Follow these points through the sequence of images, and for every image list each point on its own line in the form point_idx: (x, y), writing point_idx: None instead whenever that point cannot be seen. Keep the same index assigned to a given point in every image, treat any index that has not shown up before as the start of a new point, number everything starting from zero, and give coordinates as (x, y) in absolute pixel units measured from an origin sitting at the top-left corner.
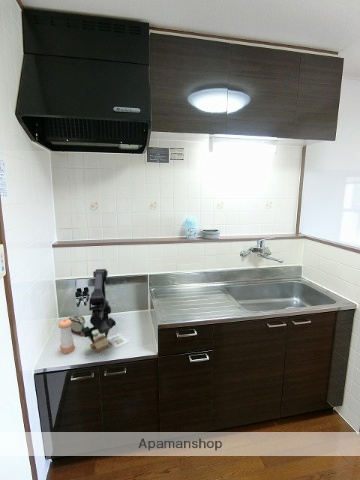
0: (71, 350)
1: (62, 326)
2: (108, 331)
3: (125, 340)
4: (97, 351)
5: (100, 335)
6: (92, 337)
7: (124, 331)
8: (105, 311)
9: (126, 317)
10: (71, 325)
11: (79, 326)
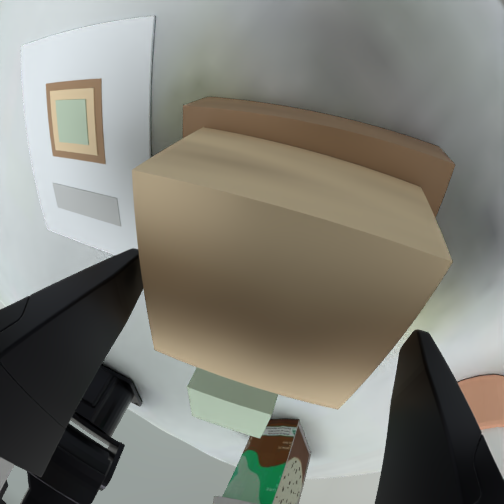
0: (490, 386)
1: None
2: (6, 313)
3: (32, 85)
4: (433, 151)
5: (198, 360)
6: (474, 481)
7: (21, 213)
8: (62, 439)
9: (16, 301)
10: (296, 495)
11: (279, 494)
